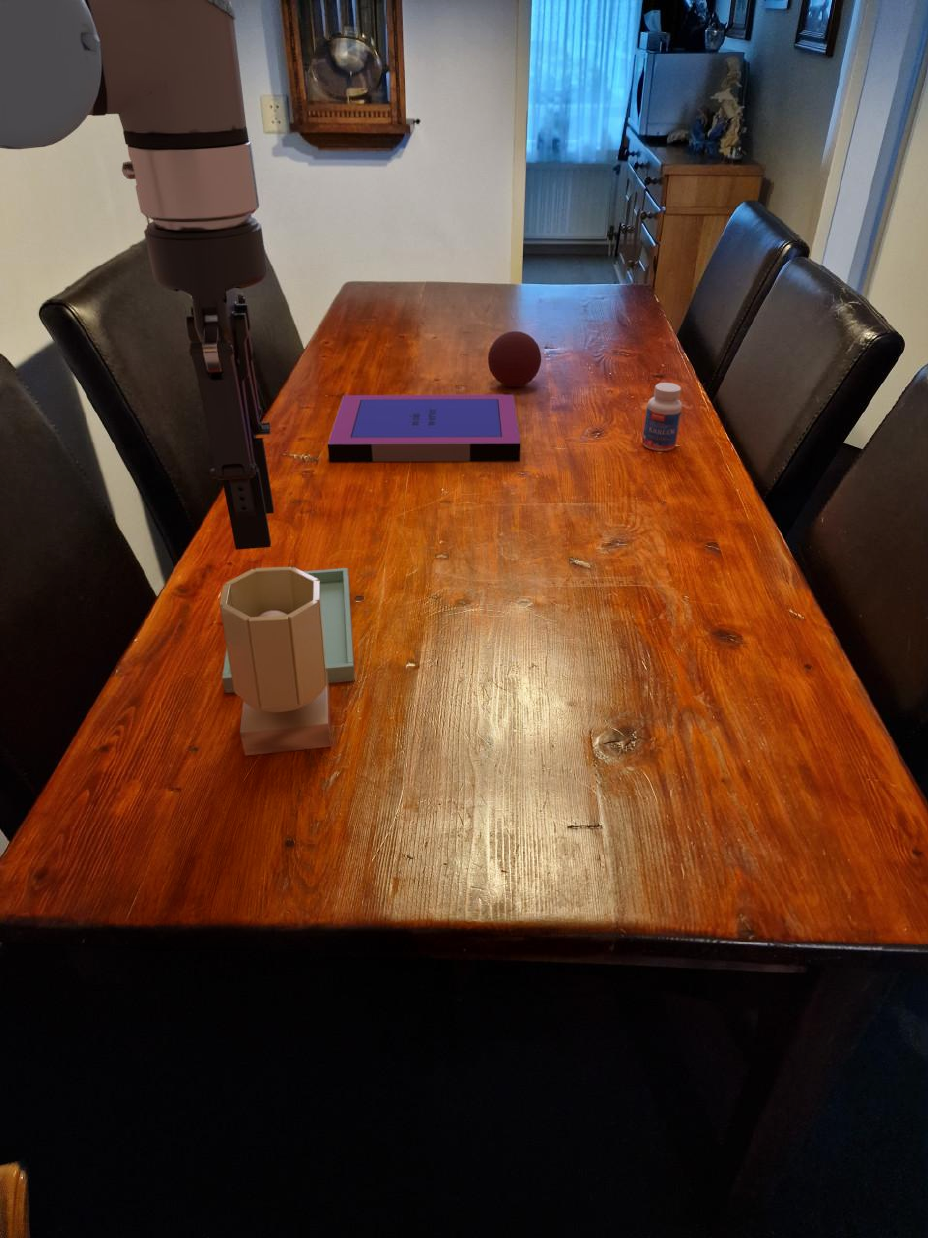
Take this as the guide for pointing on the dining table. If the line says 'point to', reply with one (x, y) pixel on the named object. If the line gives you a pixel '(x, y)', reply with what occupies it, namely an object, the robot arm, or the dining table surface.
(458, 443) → the book
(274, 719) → the block
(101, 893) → the dining table surface
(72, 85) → the robot arm
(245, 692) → the cup
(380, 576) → the dining table surface
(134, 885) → the dining table surface
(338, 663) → the tray
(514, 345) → the decorative ball
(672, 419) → the pill bottle
